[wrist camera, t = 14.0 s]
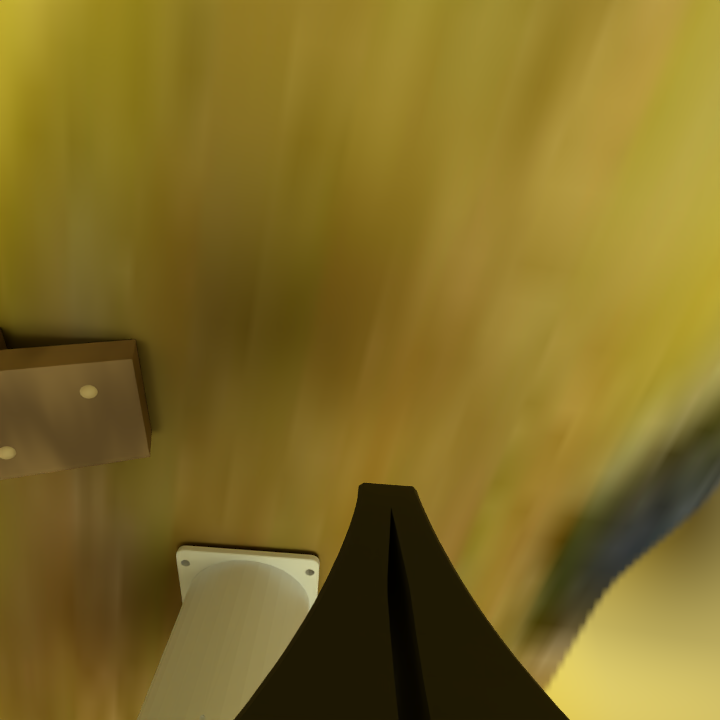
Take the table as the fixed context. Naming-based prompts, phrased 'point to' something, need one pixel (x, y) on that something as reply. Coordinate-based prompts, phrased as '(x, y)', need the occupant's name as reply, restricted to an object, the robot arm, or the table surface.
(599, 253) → the table surface
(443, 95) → the table surface
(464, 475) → the table surface
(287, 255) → the table surface
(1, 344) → the tile
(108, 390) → the tile
